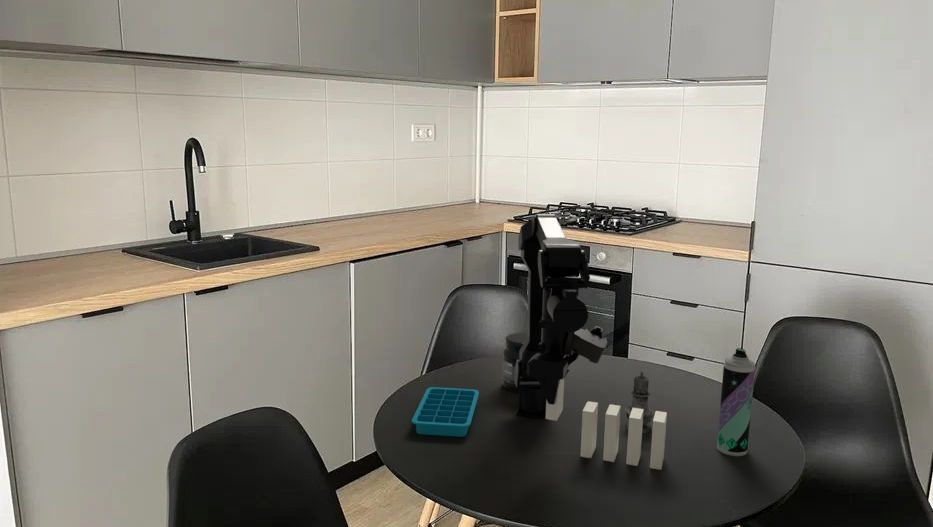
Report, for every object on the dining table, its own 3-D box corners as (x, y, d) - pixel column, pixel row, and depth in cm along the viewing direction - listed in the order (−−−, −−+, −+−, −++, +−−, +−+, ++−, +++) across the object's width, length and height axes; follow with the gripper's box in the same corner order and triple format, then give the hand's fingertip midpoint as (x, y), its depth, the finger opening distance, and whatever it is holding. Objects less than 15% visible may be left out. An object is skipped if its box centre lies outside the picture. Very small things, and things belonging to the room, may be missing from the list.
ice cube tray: (410, 436, 142) (410, 422, 141) (427, 399, 162) (428, 386, 161) (469, 440, 141) (469, 426, 140) (479, 402, 160) (479, 389, 160)
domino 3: (603, 460, 132) (605, 414, 131) (607, 449, 137) (609, 404, 135) (614, 462, 132) (616, 415, 130) (618, 450, 136) (620, 405, 135)
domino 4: (626, 464, 131) (629, 417, 129) (629, 452, 136) (632, 407, 134) (637, 465, 130) (640, 419, 129) (640, 454, 135) (643, 409, 133)
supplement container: (551, 382, 173) (552, 334, 170) (541, 397, 163) (542, 346, 161) (508, 377, 176) (510, 329, 174) (496, 391, 166) (497, 341, 164)
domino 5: (649, 468, 130) (653, 420, 128) (652, 456, 134) (655, 410, 133) (661, 469, 129) (664, 422, 127) (663, 458, 134) (666, 412, 132)
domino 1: (545, 418, 127) (547, 370, 125) (552, 408, 132) (554, 361, 130) (556, 420, 127) (558, 372, 125) (562, 409, 131) (565, 363, 129)
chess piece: (653, 434, 144) (657, 377, 141) (623, 432, 145) (627, 375, 143) (652, 423, 149) (656, 368, 147) (623, 420, 150) (626, 365, 148)
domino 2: (580, 456, 134) (582, 410, 132) (585, 445, 138) (587, 401, 137) (591, 458, 133) (593, 412, 131) (595, 447, 138) (598, 402, 136)
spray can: (712, 444, 140) (720, 345, 136) (739, 443, 140) (748, 344, 137) (724, 456, 134) (733, 354, 131) (752, 455, 135) (762, 353, 131)
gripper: (595, 335, 114) (590, 426, 118) (613, 306, 131) (608, 386, 135) (527, 327, 118) (524, 416, 121) (553, 299, 135) (550, 378, 138)
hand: (554, 398), depth 129 cm, fingers closed on domino 1, 5 cm apart
